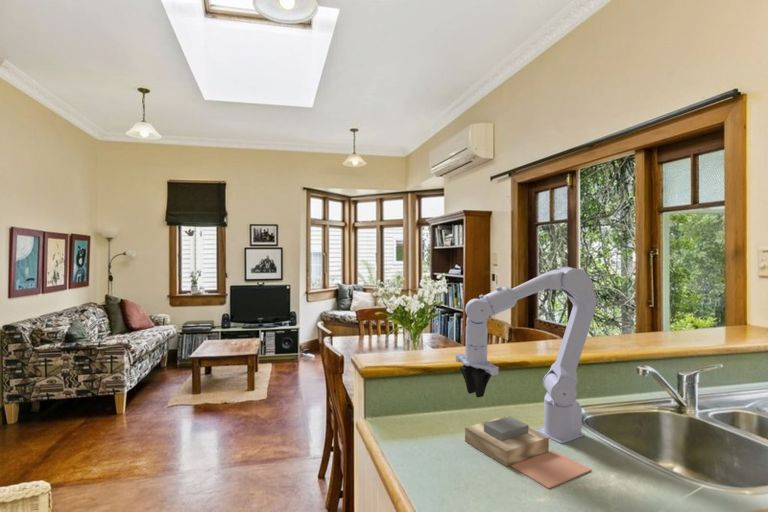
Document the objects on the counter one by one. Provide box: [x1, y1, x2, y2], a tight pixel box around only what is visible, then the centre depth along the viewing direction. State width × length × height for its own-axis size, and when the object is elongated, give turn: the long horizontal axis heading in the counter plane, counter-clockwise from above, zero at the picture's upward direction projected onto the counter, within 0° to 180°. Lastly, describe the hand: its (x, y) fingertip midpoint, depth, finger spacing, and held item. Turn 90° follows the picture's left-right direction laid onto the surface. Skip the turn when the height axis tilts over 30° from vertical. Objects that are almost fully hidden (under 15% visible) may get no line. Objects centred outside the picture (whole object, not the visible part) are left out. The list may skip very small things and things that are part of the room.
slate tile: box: [484, 415, 530, 441], centre depth 106 cm, size 9×6×2 cm, turn 120°
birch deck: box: [464, 416, 550, 467], centre depth 106 cm, size 14×14×4 cm
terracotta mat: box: [510, 450, 592, 490], centre depth 95 cm, size 14×10×1 cm
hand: (475, 394), depth 115 cm, fingers open, 3 cm apart
